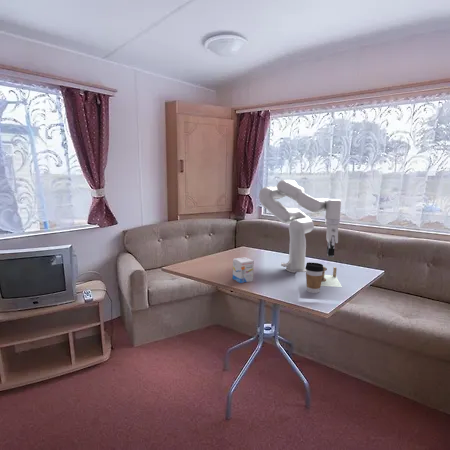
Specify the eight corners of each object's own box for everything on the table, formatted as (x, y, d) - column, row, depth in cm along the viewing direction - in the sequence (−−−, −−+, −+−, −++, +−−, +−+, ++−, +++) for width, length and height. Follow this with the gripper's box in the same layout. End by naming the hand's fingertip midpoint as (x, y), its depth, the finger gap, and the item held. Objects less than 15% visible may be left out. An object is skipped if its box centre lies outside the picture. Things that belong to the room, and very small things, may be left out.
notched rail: (315, 275, 174) (315, 266, 173) (314, 274, 176) (315, 266, 175) (336, 276, 172) (336, 268, 171) (335, 275, 174) (336, 267, 173)
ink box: (239, 283, 164) (240, 262, 162) (232, 278, 171) (232, 258, 169) (253, 281, 168) (254, 260, 166) (245, 276, 175) (246, 256, 173)
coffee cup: (301, 290, 155) (303, 261, 152) (318, 290, 155) (319, 261, 153) (307, 297, 146) (309, 266, 144) (324, 296, 147) (326, 266, 145)
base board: (316, 288, 158) (316, 285, 158) (312, 276, 177) (312, 274, 176) (342, 290, 156) (342, 287, 156) (335, 278, 175) (335, 275, 174)
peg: (333, 257, 170) (334, 242, 169) (327, 256, 170) (328, 242, 169) (332, 255, 173) (333, 241, 172) (326, 255, 173) (327, 241, 172)
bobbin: (315, 281, 164) (315, 269, 163) (314, 277, 170) (314, 266, 169) (326, 282, 163) (327, 270, 162) (325, 278, 169) (326, 266, 168)
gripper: (342, 224, 160) (340, 258, 163) (336, 220, 176) (334, 251, 179) (327, 223, 161) (325, 258, 164) (323, 219, 177) (321, 250, 180)
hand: (330, 254), depth 172 cm, fingers closed on peg, 3 cm apart
